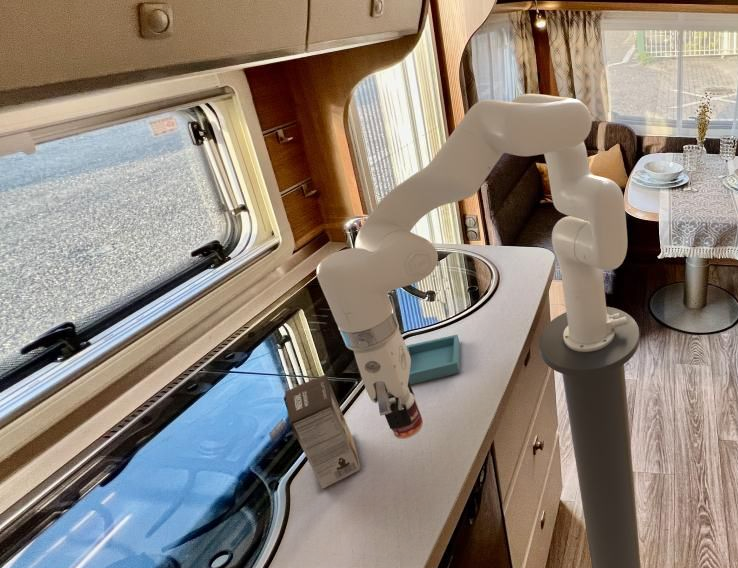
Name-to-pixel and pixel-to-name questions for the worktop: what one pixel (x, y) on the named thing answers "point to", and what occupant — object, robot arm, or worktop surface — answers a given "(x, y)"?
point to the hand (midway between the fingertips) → (403, 412)
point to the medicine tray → (434, 359)
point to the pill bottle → (414, 415)
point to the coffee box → (322, 431)
